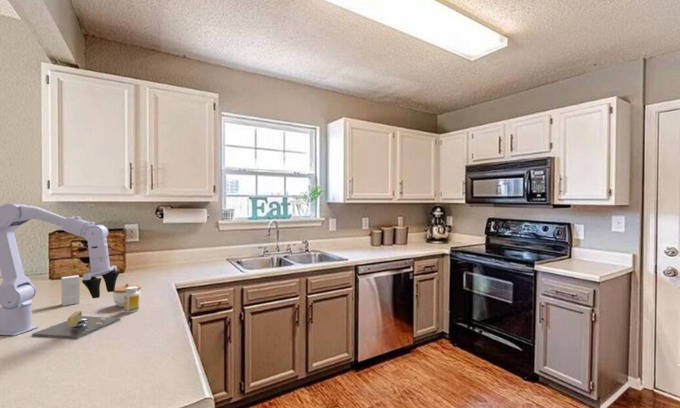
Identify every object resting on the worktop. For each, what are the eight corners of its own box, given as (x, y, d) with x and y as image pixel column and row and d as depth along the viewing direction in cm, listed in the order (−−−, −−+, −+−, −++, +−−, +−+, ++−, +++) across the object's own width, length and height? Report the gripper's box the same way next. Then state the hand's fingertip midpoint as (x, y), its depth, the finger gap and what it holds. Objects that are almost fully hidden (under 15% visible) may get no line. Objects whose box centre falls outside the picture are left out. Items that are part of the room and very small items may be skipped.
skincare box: (78, 301, 152) (78, 275, 152) (79, 303, 149) (79, 276, 149) (61, 304, 148) (61, 277, 148) (62, 306, 145) (62, 278, 145)
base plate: (32, 335, 112) (32, 329, 112) (80, 318, 130) (80, 312, 130) (77, 338, 110) (77, 332, 110) (120, 320, 128) (120, 314, 128)
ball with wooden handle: (72, 320, 121) (72, 309, 121) (90, 318, 123) (90, 307, 123) (61, 330, 111) (61, 318, 111) (80, 328, 113) (80, 316, 113)
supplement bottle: (121, 313, 136) (121, 289, 136) (128, 308, 141) (128, 286, 142) (135, 312, 137) (135, 289, 137) (141, 308, 142) (141, 285, 142)
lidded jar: (106, 307, 144) (106, 285, 144) (130, 300, 154) (130, 280, 154) (123, 310, 140) (123, 287, 140) (146, 303, 150) (146, 282, 150)
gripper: (95, 260, 116) (99, 299, 116) (123, 253, 130) (127, 288, 130) (75, 262, 116) (79, 301, 116) (105, 255, 130) (109, 289, 130)
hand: (103, 294), depth 123 cm, fingers open, 7 cm apart
